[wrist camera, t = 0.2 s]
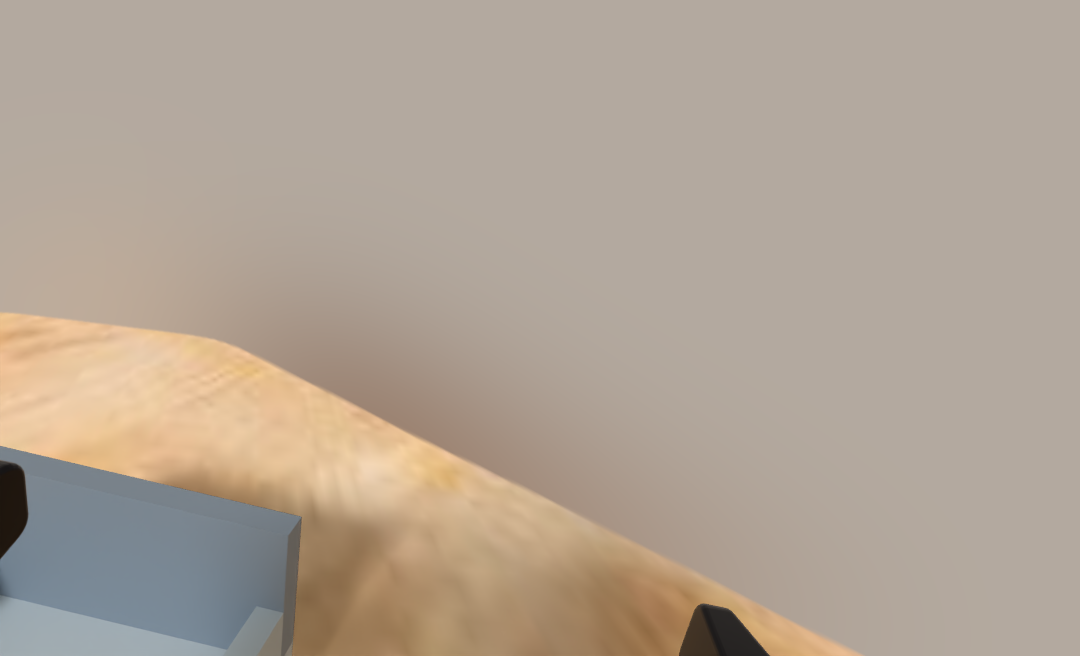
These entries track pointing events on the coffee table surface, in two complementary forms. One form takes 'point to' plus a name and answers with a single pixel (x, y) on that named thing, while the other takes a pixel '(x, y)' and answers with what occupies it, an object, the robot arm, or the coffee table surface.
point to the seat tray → (143, 569)
